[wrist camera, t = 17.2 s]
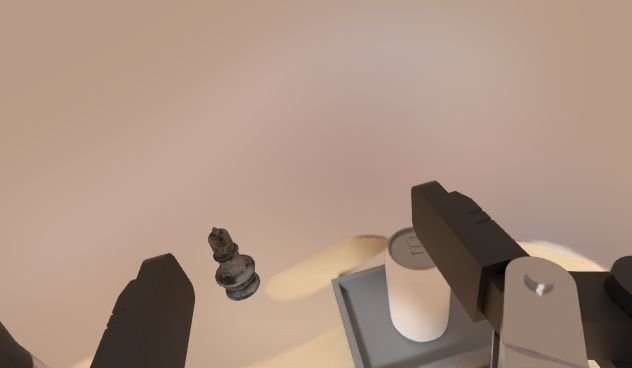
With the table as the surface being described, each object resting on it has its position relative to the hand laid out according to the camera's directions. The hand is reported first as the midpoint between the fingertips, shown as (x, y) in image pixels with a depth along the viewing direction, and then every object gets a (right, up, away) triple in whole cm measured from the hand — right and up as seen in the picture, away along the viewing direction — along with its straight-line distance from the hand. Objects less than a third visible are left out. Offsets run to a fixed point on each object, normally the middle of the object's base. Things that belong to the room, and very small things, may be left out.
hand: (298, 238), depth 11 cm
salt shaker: (-10, -14, +38) cm, 42 cm away
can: (+13, -14, +27) cm, 33 cm away
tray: (+13, -15, +28) cm, 34 cm away
